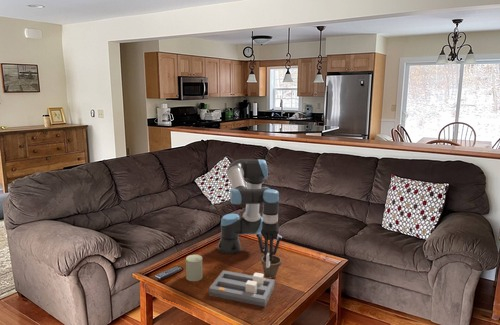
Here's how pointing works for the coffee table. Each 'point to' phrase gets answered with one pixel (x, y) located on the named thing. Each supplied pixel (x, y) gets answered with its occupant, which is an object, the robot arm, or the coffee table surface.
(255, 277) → the tab
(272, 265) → the flower pot
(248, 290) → the tab
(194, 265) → the can
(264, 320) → the coffee table surface
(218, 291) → the switch bank
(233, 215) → the robot arm
